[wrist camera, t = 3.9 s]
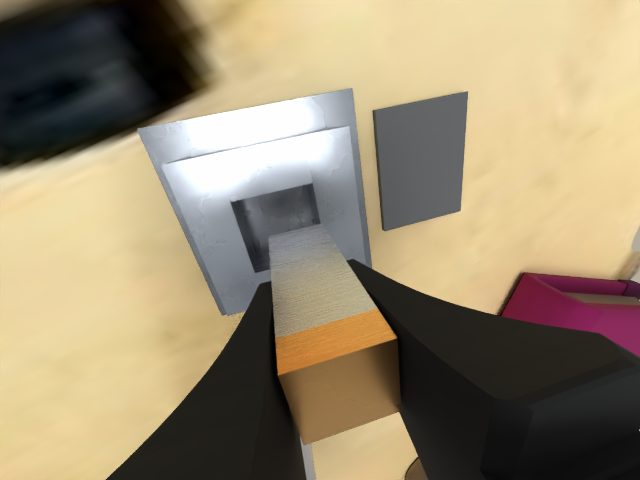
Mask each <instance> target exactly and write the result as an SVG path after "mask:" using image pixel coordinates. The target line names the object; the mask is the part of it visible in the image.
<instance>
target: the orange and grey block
mask: <svg viewBox="0 0 640 480" xmlns="http://www.w3.org/2000/svg"><path fill="white" fill-rule="evenodd" d="M268 239H269V254H270V268H271V283H272V297H273V311H274V326H275V340H276V355H277V369H278V377H279V380H280V383H281V385H282V388H283V391H284V394H285V396H286V399H287V402H288V404H289V407H290V410H291V413H292V415H293V418H294V421H295V424H296V426H297V429H298V432H299V434H300V437H301V440H302V443H303V445H307V444H309V443H312V442H315V441H318V440H321V439H324V438H326V437H329V436H332V435H335V434H338V433H340V432H343V431H346V430H349V429H352V428H355V427H357V426H360V425H363V424H366V423H369V422H371V421H374V420H377V419H380V418H383V417H385V416H388V415H391V414H394V413H397V412H400V411H401V396H400V378H399V359H398V341H397V337H396V335H395V334H394V332H393V331H392V329H391V328H390V326H389V325H388V323H387V322H386V320H385V319H384V317H383V316H382V314H381V313H380V311H379V310H378V308H377V307H376V305H375V304H374V302H373V301H372V299H371V298H370V296H369V295H368V293H367V292H366V290H365V289H364V287H363V286H362V284H361V283H360V281H359V280H358V278H357V277H356V275H355V274H354V272H353V271H352V269H351V268H350V266H349V264H348V263H347V261H346V260H345V258H344V257H343V255H342V254H341V252H340V251H339V249H338V248H337V246H336V245H335V243H334V242H333V240H332V239H331V237H330V236H329V234H328V233H327V231H326V230H325V228H324V227H323V225H322V224H317V225H313V226H309V227H305V228H301V229H297V230H293V231H289V232H285V233H281V234H276V235H272V236H268Z"/></svg>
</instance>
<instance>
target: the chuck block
mask: <svg viewBox="0 0 640 480" xmlns="http://www.w3.org/2000/svg"><path fill="white" fill-rule="evenodd" d="M137 130H138V133H139V135H140V137H141V139H142V141H143V144H144V146H145V148H146V150H147V152H148V155H149V157H150V159H151V161H152V163H153V166H154V168H155V170H156V172H157V174H158V176H159V179H160V181H161V183H162V185H163V187H164V190H165V192H166V194H167V196H168V198H169V201H170V203H171V205H172V207H173V209H174V212H175V214H176V216H177V218H178V220H179V222H180V225H181V227H182V229H183V231H184V233H185V236H186V238H187V240H188V242H189V244H190V247H191V249H192V251H193V253H194V255H195V258H196V260H197V262H198V264H199V266H200V268H201V271H202V273H203V275H204V277H205V279H206V282H207V284H208V286H209V288H210V290H211V293H212V295H213V297H214V299H215V301H216V303H217V306H218V308H219V310H220V312H221V314H222V315H226V314H227V315H228V316H229V315H233V314H236V313H240V312H243V311H246V310H247V308H248V306H249V304H250V302H251V300H252V298H253V296H254V294H255V292H256V289H257V287H258V286H259V284H261V283H264V282H268V281H271V268H270V254H269V239H268V236H272V235H276V234H281V233H285V232H289V231H293V230H297V229H301V228H305V227H309V226H313V225H317V224H322V225H323V227H324V228H325V230H326V231H327V233H328V234H329V236H330V237H331V239H332V240H333V242H334V243H335V245H336V246H337V248H338V249H339V251H340V252H341V254H342V255H343V257H344V258H345V260H346V261H347V260H351V259H355V260H357V261H359V262H360V263H362V264H364V265H366V266H367V267H369V268H371V269H372V264H371V254H370V245H369V236H368V227H367V218H366V208H365V199H364V190H363V181H362V172H361V163H360V153H359V144H358V135H357V126H356V117H355V107H354V98H353V89H352V88H351V89H345V90H340V91H335V92H329V93H324V94H319V95H314V96H308V97H303V98H298V99H292V100H287V101H282V102H277V103H271V104H266V105H261V106H255V107H250V108H245V109H240V110H234V111H229V112H224V113H218V114H213V115H208V116H203V117H197V118H192V119H187V120H182V121H176V122H171V123H166V124H160V125H155V126H150V127H145V128H139V129H137Z"/></svg>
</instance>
